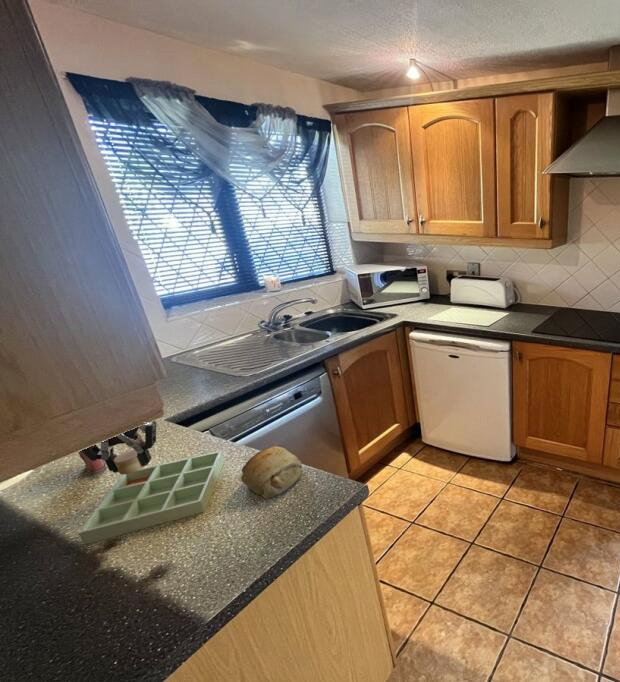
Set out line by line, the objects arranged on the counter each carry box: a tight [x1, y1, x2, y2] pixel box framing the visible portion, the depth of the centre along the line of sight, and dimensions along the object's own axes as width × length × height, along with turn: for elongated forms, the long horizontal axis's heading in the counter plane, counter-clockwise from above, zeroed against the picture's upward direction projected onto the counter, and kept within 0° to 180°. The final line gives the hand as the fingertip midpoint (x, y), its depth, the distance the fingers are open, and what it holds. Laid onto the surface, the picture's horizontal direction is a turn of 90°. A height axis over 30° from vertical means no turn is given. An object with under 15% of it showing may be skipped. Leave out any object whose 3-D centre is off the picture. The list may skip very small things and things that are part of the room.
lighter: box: [77, 451, 108, 476], centre depth 97 cm, size 8×3×10 cm, turn 55°
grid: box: [77, 450, 226, 545], centre depth 88 cm, size 20×20×3 cm
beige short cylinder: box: [114, 449, 145, 475], centre depth 89 cm, size 5×5×4 cm
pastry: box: [240, 445, 303, 500], centre depth 92 cm, size 14×12×8 cm
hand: (132, 466), depth 90 cm, fingers closed on beige short cylinder, 4 cm apart
